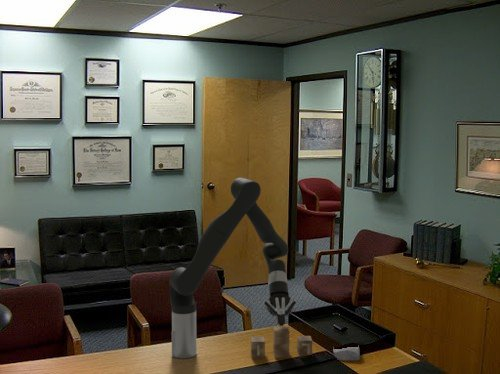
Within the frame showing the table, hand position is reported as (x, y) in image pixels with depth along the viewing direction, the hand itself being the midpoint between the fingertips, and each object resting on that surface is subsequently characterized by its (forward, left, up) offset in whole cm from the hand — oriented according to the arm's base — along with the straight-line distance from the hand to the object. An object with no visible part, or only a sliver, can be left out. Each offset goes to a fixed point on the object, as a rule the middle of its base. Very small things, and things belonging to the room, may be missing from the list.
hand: (281, 325), depth 219 cm
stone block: (+25, -1, -12) cm, 28 cm away
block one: (-9, 0, -12) cm, 15 cm away
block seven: (+9, 0, -12) cm, 15 cm away
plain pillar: (0, 0, -12) cm, 12 cm away
